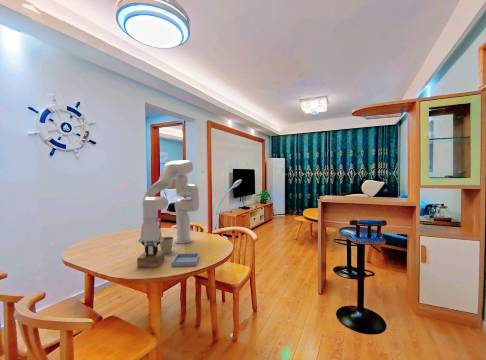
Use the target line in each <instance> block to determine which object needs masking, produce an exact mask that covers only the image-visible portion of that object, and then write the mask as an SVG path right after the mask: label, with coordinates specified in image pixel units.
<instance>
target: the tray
mask: <svg viewBox="0 0 486 360" xmlns="http://www.w3.org/2000/svg"><path fill="white" fill-rule="evenodd" d="M199 260H200V252H190V253H188V252H187V253H186V252H185V253H176V254H175V256H174V258H173V259H172V260H171V267H172V268H174V267H175V268H177V267H178V268H179V267H197V265H198V263H199V262H198V261H199Z"/></svg>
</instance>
